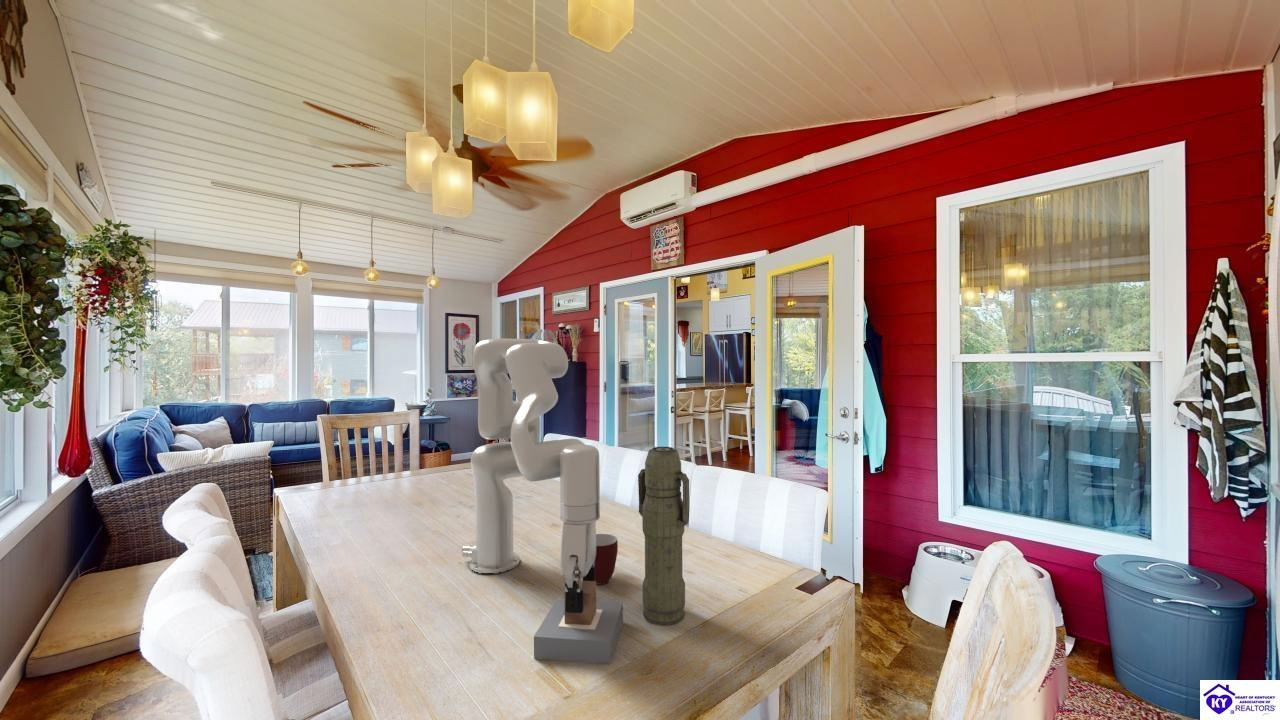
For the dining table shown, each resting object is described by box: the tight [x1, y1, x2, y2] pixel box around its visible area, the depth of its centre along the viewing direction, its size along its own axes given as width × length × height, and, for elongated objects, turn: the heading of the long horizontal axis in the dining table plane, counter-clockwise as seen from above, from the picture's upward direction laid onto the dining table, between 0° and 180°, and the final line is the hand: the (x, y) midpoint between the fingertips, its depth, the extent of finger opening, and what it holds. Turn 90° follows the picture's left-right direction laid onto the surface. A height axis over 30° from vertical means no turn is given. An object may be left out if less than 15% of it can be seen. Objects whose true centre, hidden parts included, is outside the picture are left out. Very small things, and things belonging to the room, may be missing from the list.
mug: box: [594, 533, 619, 585], centre depth 122 cm, size 10×8×10 cm
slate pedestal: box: [533, 598, 624, 665], centre depth 96 cm, size 14×14×4 cm
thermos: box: [637, 446, 690, 626], centre depth 105 cm, size 9×12×35 cm
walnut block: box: [563, 579, 597, 625], centre depth 96 cm, size 5×5×6 cm
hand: (581, 599), depth 96 cm, fingers open, 9 cm apart
